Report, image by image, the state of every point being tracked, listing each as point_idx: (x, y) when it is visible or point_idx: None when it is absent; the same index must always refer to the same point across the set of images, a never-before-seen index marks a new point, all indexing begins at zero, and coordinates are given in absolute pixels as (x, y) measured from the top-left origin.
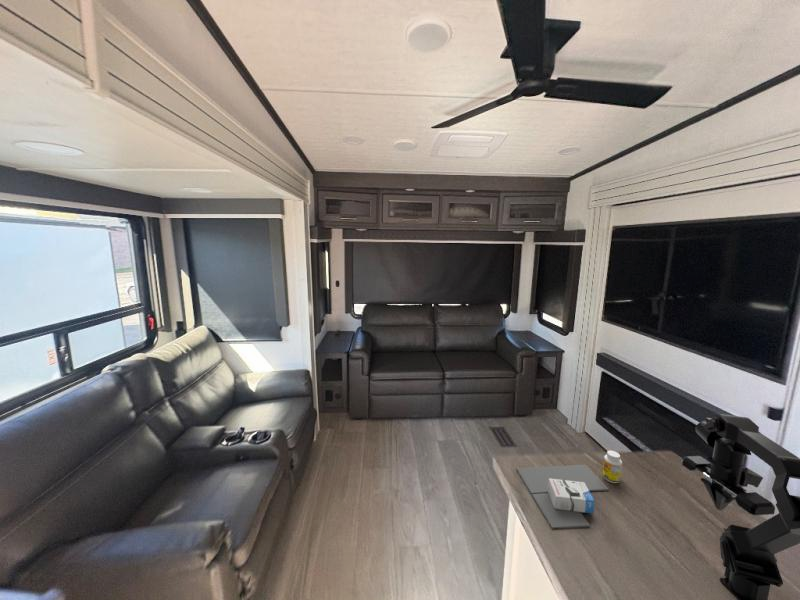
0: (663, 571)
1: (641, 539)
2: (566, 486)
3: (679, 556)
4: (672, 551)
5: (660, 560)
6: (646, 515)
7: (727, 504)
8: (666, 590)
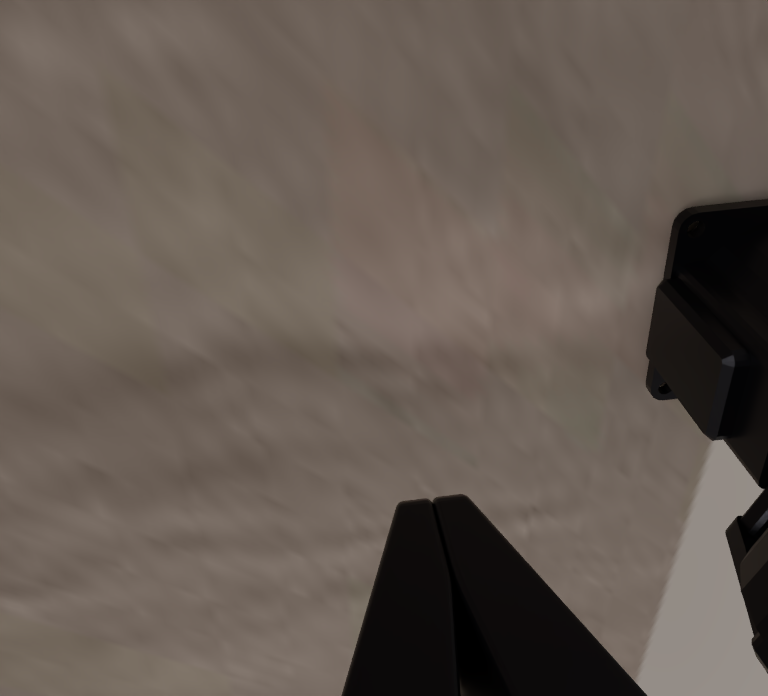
0: None
1: (319, 630)
2: None
3: None
4: None
5: None
6: (57, 507)
7: (607, 673)
8: (629, 658)
